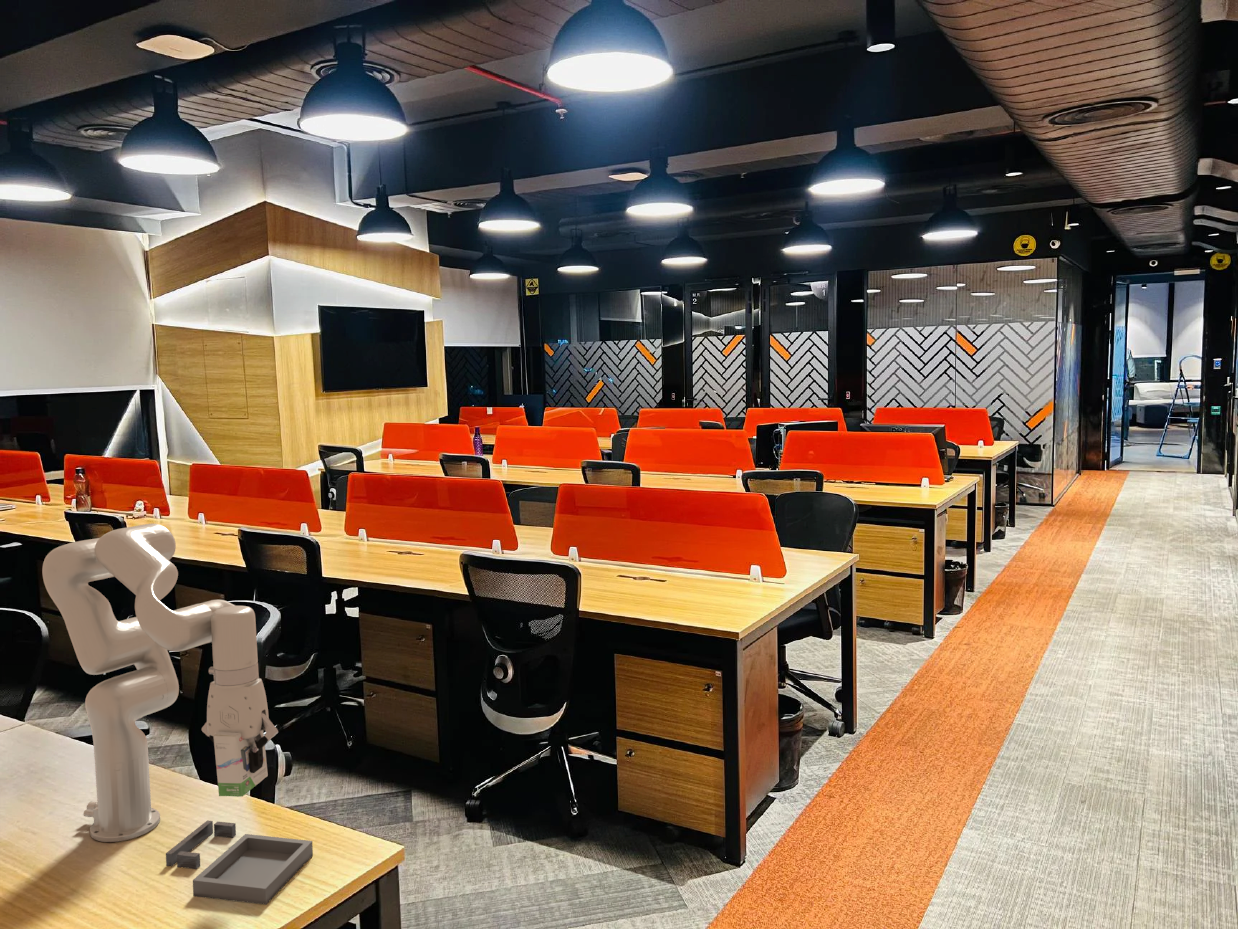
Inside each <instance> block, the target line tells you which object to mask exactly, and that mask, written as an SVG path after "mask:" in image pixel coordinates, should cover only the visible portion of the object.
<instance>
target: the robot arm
mask: <svg viewBox="0 0 1238 929" xmlns="http://www.w3.org/2000/svg"><path fill="white" fill-rule="evenodd" d="M176 547H177V546H176V540H175V537H174V535H173V533H172V532H171V531H170V530H169V529H168V528H167V527H165V526H163V525H162V524H158V523H146V524H140V525H134V526H129V527H128V526H127V527H122V528H117V529H113V530H111V531H108V532H107V533H104V534H103V535H101V537H97V538H92V539H91V538H90V539H84V540H78V541H74V542H69V543H67V544H62V545H59V546H58V547H55V548H53V549H52V550H50V551H49V552H48V553H47V555H45V558H44V561H43V563H42V570H41V571H42V579H43V584H44V586H45V589H46V592H47V593H48V595H49V597H50V598H51V600H52V602H53V603H54V605H55V606H56V607H57V609H58V610H59V612H60V614H61V616H62V619H63V620H64V621H63V622H64V623H65V626H66V627H65V628H66V630H67V632H68V635H69V638H70V641H71V643H72V646H73V649H74V652H75V655H76V659H77V660H78V662H79V665H80V666H81V668H82V670H83V671H84V672H85V673H86V674H88V675H90V676H91V675H93V676H95V675H96V676H97V675H103V674H107V673H110V672H114V671H117V670H120V669H123V668H126V667H130V666H132V665H133V666H135V668H136V670H133V671H129V672H126V673H123V674H120V675H115V676H113V677H111V678H108V679H105V680H103V681H101V682H99V683H97V684H96V685H95V686H93V687H92V688H90V690H89V691H88V693H87V694H86V697H85V702H84V705H85V706H84V707H85V711H86V716H87V718H88V721H89V725H90V729H91V730H90V731H91V735H92V741H93V742H92V744H93V756H94V767H95V784H96V785H95V786H96V799H97V800H96V801H90V802H88V803H87V805H86V809H85V810H84V811H83V814H82V815H83V817H85V818H86V817H87V818H93V823H92V824H91V825H90V828H89V832H90V833H89V835H90V837H91V838H92V839H94V840H96V841H98V842H101V843H103V842H104V843H118V842H124V841H127V840H131V839H135V838H137V837H138V838H139V837H140V836H142V835H146V834H147V833H149V832H150V831H152V830H153V829H155V828H156V827H157V826H158V824H159V823H160V821H161V813H160V812H159V810H158V809H155V808H153V807H152V798H151V797H152V796H151V781H150V761H149V747H148V746H149V745H148V738H147V737H146V735H145V732H143V731H142V730H141V729H140V728H139V727H138V726H137V725H136V722H137V720H140V719H141V718H144V717H146V716H147V715H151V714H153V713H156V712H159V711H162V710H165V709H167V708H168V707H170V706H172V705H173V704H174V703H175V702H176V701H177V699H178V696H179V692H180V689H179V688H180V687H179V686H180V685H179V679H178V677H177V674H176V670H175V668H174V665H173V662H172V660H171V659H172V658H171V656H170V654H169V651H170V652H183V651H187V650H190V649H193V648H196V647H199V646H202V645H206V644H210V643H211V644H212V645H211V647H212V648H211V649H212V661H213V663H212V665H213V666H210V667H209V668H208V674H209V675H213V681H211V682H210V683H209V690H208V695H207V702H206V704H207V705H206V722H205V723H204V725H203V726H202V727H201V731H202V733H203V734H205V736H206V737H209V740H210V741H211V742H212V743H213V744H214V735H215V733H216V732H231V733H241V738H242V739H248V741H249V744H250V747H251V750H252V751H251V752H250V753H249V767H250V772H251V773H255V772H256V771H257V770H259V769H260V768H261V767H262V765H263V747H264V746H265V747H266V745H267V744H268V742H269V741H270V740H272V738H274V737H275V736H276V735H277V734H278V733H279V730H278V728H277V727H276V726H275V725H274V724H273V722H272V721H271V719H270V718H269V709H268V702H267V701H268V700H267V695H266V694H267V693H266V690H265V687H264V683H263V680H262V678H260V676H259V662H258V661H259V659H258V644H257V624H256V621H257V620H256V613H255V611H254V609H253V608H252V607H250V606H246V605H236V604H233V603H231V602H229V601H227V600H224V599H211V600H208V601H203V602H201V603H195V604H191V605H188V606H185V607H180V608H177V609H174V610H172V609H170V608H169V607H168V606H166V605H165V603H163V602H162V601H161V600H162V599H164V598H165V597H166V596H167V595H168V594H169V593H170V592H171V591H172V590H173V588H174V587H175V585H176V583H177V580H178V578H179V577H178V576H179V571H178V569H177V566H175V564H174V563H172V562H171V559H172V558H173V556H174V555H175V552H176V549H177V548H176ZM108 578H109V579H110V578H116V579H117V580H118V581H119V582H120V583H122V584H123V585H124V586H125V587H126V588H127V589H128V590H129V591H130V592H132V593H133V594H134V595H135V599H134V611H135V616H134V617H130V618H126V619H123V620H117V618H116V616H115V614H114V612H113V608H112V605H111V603H110V602H109V599H108V598H106V597H105V595H103V594H102V592H100V591H99V590H97V589H96V588H94V587H92V586H90V585H89V583H90V582H94V581H100V580H105V579H108ZM262 731H263V732H264V731H265V734H264V736H263V734H262ZM255 737H256V738H255ZM256 740H257V741H256Z"/></svg>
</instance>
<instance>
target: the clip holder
mask: <svg viewBox="0 0 1238 929" xmlns="http://www.w3.org/2000/svg"><path fill="white" fill-rule="evenodd" d="M213 823H214V822H213V820H206V821H204V822H203V823H202V824H201V825H200V826H198V827H197V828H196V829H195V830H193V831H191V833H190V834H188V835H187V836H186V837H184V838H183V839H182V840H181V841H179V842H178V843H176V845H174V846H173V847H172V848H171V849H169V850H168V851H167V852H166V853H165V866H166V867H174V866H175V865H176V866H177V868H181V867H183V868H182V869H188V870H189V869H192V870H197V869H198V868H200V867H201V853H199V852H191V851H193V850H195V848H197V845H198V844H199V845H200V844H201V843H202V842H204V841H205V840H206V839H207V838H209V836H211V835H212V834H213V833H214V834H213V835H214V837H219V838H227V839H233V838H234V837H236V836H237V831H236V830H237V828H236V827H237V825H236V822H235V823H234V822H226V821H216V822H215V823H214V824H213ZM203 840H204V841H203ZM199 845H198V846H199ZM192 849H193V850H192Z"/></svg>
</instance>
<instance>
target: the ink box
mask: <svg viewBox="0 0 1238 929" xmlns="http://www.w3.org/2000/svg"><path fill="white" fill-rule="evenodd" d="M262 734H263V736H264V735H265V734H264V730H263V731H262ZM255 738H256V737H255ZM256 741H257V740H256ZM213 746H214V755H215V766H216V776H217V777H216V778H217V788H218V797H244V796H245V795H246V794H248V793H249V792H250V791H251V790H252V789H254V787H257V785H258V784H260V783H261V782H262V781H263V780H264V779H265V778H267V777H268V775H269V774H268V764H267V762H268V761H267V752H266V745H265V746H264V747H263V765H262V767H261V768H260V769H259V770H257V771H256V772H255V773H251V772H250V767H249V753H250V752H251V751H252V750H251V747H250V744H249V741H248V739H242V738H241V733H231V732H216V733H215V735H214V743H213Z"/></svg>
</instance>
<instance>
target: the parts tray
mask: <svg viewBox="0 0 1238 929" xmlns="http://www.w3.org/2000/svg"><path fill="white" fill-rule="evenodd" d="M313 849H314V848H313V840H307V839H306V840H305V839H299V838H298V839H296V838H287V837H280V836H268V835H259V834H251V833H250V834H249V833H244V835H243V836H241V837H240V838H238V840H237V841H236V842H235V843H234V844H232V845H231V846H230V847H229V848H228V849H226V850H225V851H224V852H223V853H222V854H221V855H220V856H218V858H216V859H215V860H214V861H213V862H211V864H210V865H208V866H206V868H205V869H204V870H202V871H201V872H200V873H199V874H197V875H196V877H194V879H192V894H193V897H199V898H205V897H206V898H205V899H215V900H222V901H230V902H231V901H232V902H241V903H249V904H255V905H256V904H257V905H264V906H266V905H267V904H268V903H269V902H271V901H272V899H273V898H274V897H275V896H276V895H277V894H278V893H279V892H280V891H281V890H282V889H283V888H284V886H285V885H286V884H287V883H289V881H290V880H291V879H292V878H293V877H294V876H295V875H296V874H297V873H298V872H299V871H300V870H301V869H302V868H303V867H304V866H305V864H307V862H308V861H309V860H310V859H311V858H312V857H313V856H314V853H313V852H314V850H313Z"/></svg>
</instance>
